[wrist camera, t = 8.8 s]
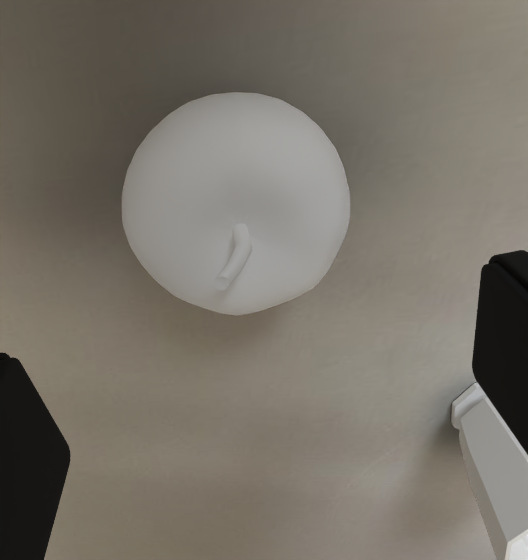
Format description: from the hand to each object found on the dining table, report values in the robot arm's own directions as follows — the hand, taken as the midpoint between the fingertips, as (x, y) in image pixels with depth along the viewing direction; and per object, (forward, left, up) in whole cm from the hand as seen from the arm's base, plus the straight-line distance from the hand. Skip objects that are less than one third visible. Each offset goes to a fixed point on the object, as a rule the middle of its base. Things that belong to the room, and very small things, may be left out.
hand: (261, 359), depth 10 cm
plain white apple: (0, 0, -11) cm, 11 cm away
